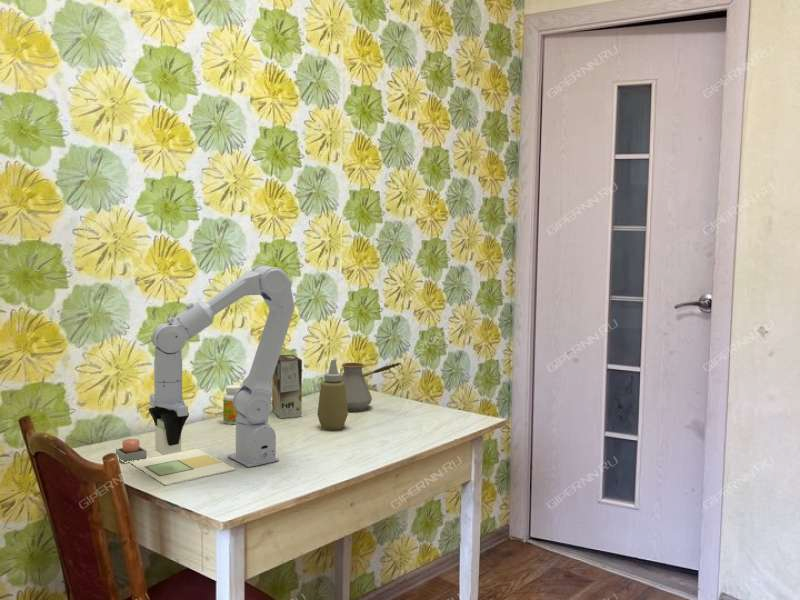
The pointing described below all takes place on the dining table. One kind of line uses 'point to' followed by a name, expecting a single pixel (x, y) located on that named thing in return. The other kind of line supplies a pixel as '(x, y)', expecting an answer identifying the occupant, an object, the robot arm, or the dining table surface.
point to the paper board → (182, 466)
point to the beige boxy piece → (164, 440)
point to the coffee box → (287, 387)
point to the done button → (131, 446)
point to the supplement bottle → (230, 404)
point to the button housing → (131, 455)
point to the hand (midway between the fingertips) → (168, 442)
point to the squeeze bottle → (332, 400)
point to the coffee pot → (358, 385)
